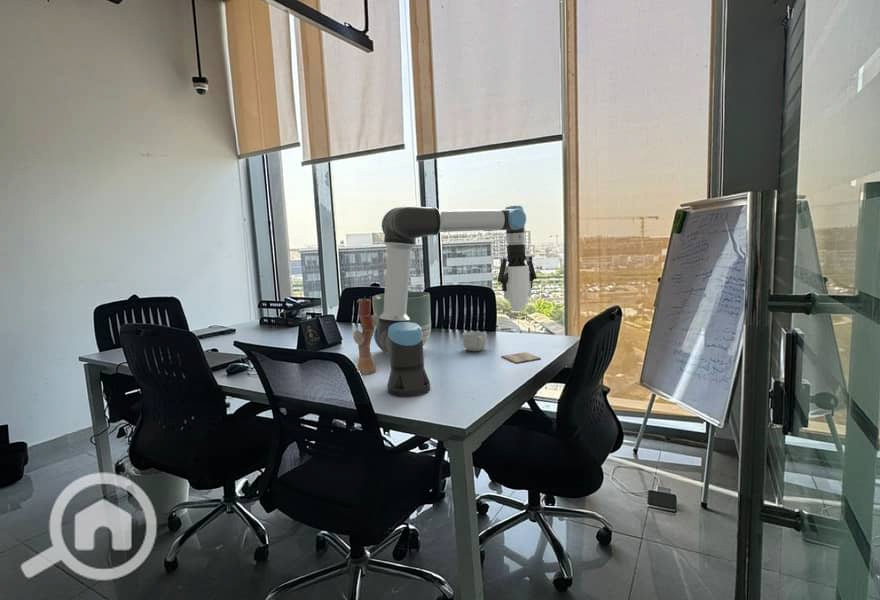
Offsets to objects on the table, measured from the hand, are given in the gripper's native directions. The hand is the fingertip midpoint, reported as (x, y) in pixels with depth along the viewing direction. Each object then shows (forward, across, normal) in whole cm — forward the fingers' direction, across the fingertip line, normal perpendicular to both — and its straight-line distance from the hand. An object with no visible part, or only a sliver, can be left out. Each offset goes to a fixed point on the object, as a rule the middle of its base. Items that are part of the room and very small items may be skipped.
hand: (517, 297), depth 201 cm
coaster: (+26, 0, 0) cm, 26 cm away
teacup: (+26, -10, +23) cm, 36 cm away
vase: (+26, -62, +15) cm, 69 cm away
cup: (+8, 0, 0) cm, 8 cm away
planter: (+26, -39, +40) cm, 61 cm away
